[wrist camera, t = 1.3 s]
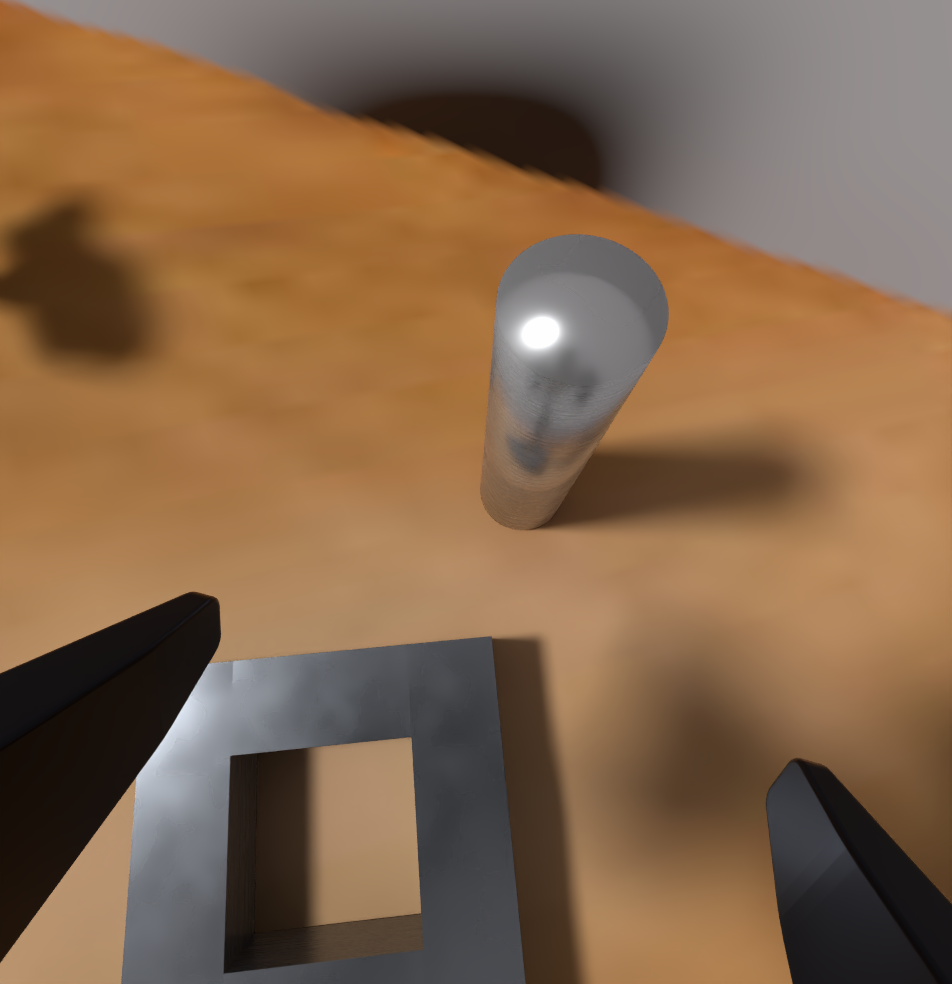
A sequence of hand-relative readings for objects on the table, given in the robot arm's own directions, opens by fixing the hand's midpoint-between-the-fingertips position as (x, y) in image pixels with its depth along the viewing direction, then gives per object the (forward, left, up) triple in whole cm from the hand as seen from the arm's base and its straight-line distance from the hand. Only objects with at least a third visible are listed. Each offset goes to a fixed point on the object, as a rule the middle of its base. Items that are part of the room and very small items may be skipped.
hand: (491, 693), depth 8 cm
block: (-5, +5, -14) cm, 15 cm away
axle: (+7, -3, -14) cm, 16 cm away
